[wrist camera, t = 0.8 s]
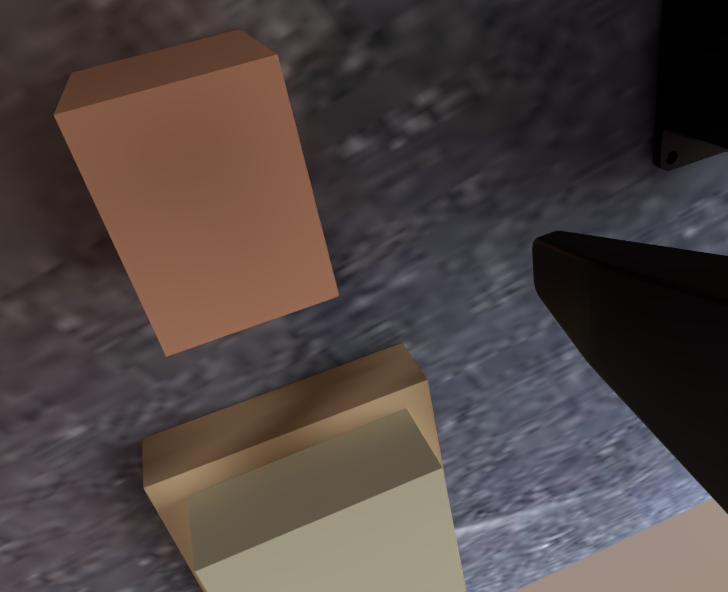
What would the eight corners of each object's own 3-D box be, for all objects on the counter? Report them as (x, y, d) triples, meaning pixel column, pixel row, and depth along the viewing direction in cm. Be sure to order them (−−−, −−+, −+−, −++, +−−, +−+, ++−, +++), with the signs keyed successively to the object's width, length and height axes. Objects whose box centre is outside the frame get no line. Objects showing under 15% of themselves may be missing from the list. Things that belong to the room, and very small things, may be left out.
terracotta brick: (239, 28, 17) (277, 54, 13) (294, 224, 20) (339, 296, 16) (71, 72, 16) (53, 115, 12) (156, 268, 19) (166, 356, 15)
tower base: (396, 335, 24) (427, 379, 22) (429, 500, 29) (457, 551, 27) (141, 428, 22) (143, 488, 20) (226, 585, 28) (236, 648, 25)
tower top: (406, 408, 22) (442, 467, 19) (437, 544, 26) (469, 606, 24) (186, 496, 21) (195, 571, 18) (256, 624, 25) (271, 698, 22)
